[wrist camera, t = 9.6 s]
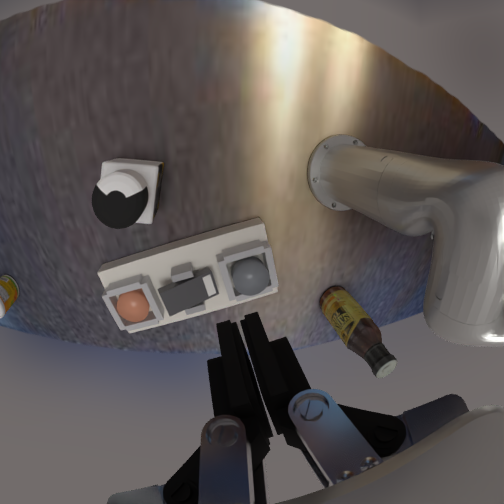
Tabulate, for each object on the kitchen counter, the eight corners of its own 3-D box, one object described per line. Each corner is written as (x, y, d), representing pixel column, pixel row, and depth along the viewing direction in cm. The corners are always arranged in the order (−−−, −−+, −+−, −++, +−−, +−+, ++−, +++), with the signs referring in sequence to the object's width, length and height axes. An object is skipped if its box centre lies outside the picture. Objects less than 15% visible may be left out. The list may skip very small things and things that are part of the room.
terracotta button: (142, 281, 38) (140, 290, 36) (155, 308, 40) (153, 317, 38) (114, 290, 37) (111, 298, 35) (127, 315, 39) (125, 324, 37)
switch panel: (258, 217, 41) (269, 229, 36) (272, 282, 46) (283, 301, 41) (102, 264, 38) (92, 281, 33) (131, 322, 43) (127, 344, 38)
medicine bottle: (158, 210, 37) (146, 239, 27) (112, 206, 35) (84, 232, 25) (164, 161, 35) (153, 170, 24) (116, 157, 33) (87, 165, 22)
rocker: (207, 266, 39) (211, 270, 38) (215, 289, 41) (219, 294, 39) (157, 289, 36) (159, 294, 35) (167, 311, 38) (170, 316, 36)
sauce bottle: (320, 286, 49) (379, 357, 31) (348, 283, 50) (410, 346, 33) (315, 315, 52) (365, 387, 34) (342, 310, 53) (395, 376, 35)
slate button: (261, 251, 38) (266, 259, 36) (267, 281, 41) (272, 289, 38) (227, 261, 38) (229, 269, 36) (235, 290, 40) (238, 299, 38)
